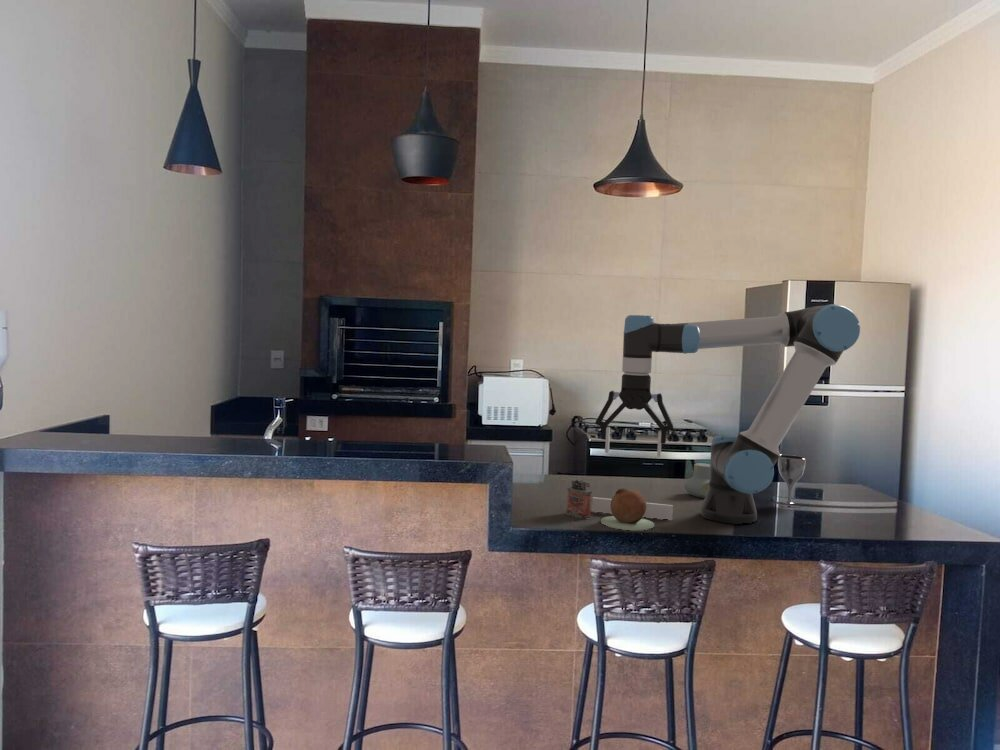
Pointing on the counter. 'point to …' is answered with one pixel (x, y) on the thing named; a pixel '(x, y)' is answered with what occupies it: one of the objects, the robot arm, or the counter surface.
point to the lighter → (579, 499)
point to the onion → (628, 506)
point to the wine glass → (791, 470)
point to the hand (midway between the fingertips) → (632, 454)
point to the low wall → (651, 512)
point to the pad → (627, 524)
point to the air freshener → (699, 480)
